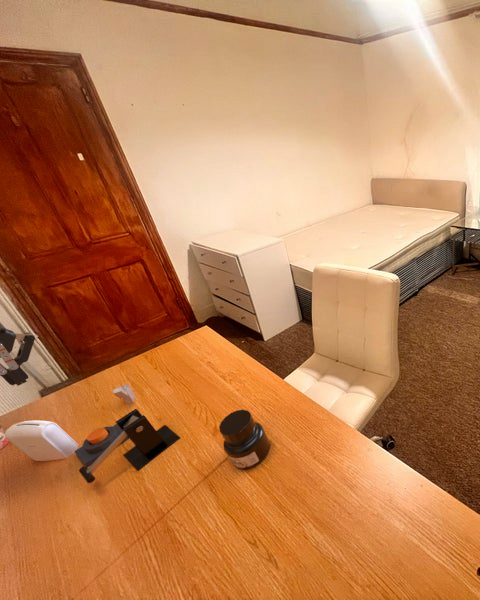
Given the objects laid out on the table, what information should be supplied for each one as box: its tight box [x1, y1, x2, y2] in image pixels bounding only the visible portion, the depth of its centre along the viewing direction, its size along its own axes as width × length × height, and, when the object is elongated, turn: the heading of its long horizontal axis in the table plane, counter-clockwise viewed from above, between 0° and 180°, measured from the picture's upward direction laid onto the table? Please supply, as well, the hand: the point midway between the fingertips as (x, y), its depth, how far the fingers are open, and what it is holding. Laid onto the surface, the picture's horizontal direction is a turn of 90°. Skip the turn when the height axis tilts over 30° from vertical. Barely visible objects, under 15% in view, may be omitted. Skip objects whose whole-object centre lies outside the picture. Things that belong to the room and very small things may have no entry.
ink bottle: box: [218, 409, 271, 470], centre depth 74 cm, size 10×9×12 cm
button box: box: [74, 423, 130, 468], centre depth 80 cm, size 10×7×4 cm
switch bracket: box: [115, 408, 181, 472], centre depth 76 cm, size 10×8×12 cm
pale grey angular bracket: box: [112, 384, 136, 405], centre depth 92 cm, size 7×2×8 cm, turn 35°
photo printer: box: [4, 419, 80, 462], centre depth 77 cm, size 10×4×12 cm, turn 89°
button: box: [86, 427, 109, 445], centre depth 79 cm, size 4×4×2 cm
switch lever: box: [78, 415, 139, 484], centre depth 72 cm, size 14×5×2 cm, turn 148°
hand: (21, 382), depth 67 cm, fingers closed
